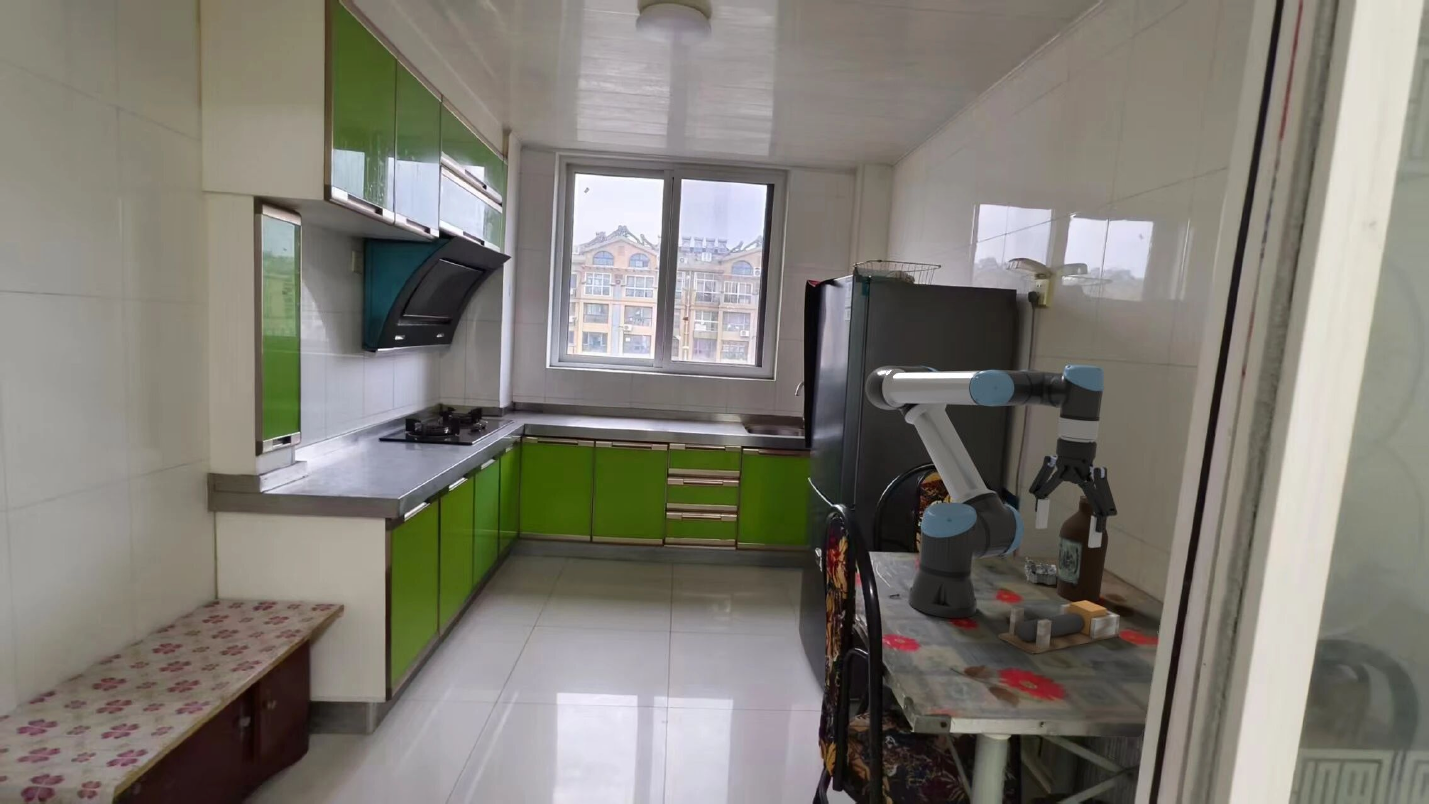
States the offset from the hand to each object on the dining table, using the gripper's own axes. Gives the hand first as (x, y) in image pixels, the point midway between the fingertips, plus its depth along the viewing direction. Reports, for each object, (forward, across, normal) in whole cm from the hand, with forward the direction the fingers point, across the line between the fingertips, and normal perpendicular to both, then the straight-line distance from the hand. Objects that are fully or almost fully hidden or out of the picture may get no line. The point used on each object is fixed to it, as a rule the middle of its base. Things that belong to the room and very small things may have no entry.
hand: (1066, 537), depth 154 cm
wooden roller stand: (+21, -3, +2) cm, 21 cm away
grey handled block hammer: (+20, -3, +3) cm, 21 cm away
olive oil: (+21, +14, -23) cm, 34 cm away
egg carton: (+21, +27, -25) cm, 43 cm away
